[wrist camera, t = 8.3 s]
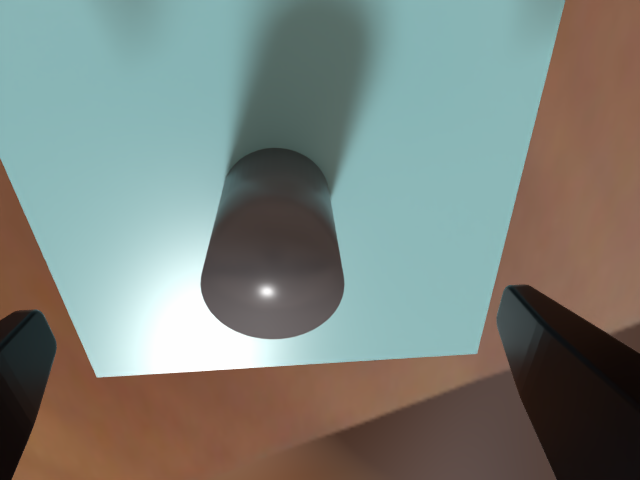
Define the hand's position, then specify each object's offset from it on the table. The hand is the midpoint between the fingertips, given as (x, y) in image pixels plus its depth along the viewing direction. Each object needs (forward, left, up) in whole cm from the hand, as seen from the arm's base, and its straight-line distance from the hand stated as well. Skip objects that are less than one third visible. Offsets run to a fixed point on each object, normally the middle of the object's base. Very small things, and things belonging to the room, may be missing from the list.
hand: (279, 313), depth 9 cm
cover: (0, 0, -5) cm, 5 cm away
